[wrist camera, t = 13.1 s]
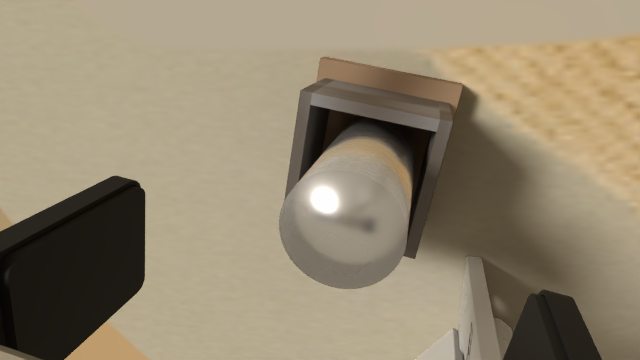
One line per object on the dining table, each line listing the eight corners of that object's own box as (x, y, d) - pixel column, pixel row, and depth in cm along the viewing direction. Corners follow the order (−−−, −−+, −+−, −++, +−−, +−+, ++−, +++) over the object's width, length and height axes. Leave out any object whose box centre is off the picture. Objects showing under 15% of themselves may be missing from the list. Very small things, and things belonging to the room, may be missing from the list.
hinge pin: (425, 121, 22) (421, 188, 13) (405, 195, 23) (389, 303, 14) (346, 103, 23) (289, 155, 13) (332, 176, 24) (271, 269, 15)
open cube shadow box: (461, 83, 22) (469, 101, 17) (422, 226, 25) (419, 278, 20) (324, 56, 23) (294, 66, 18) (302, 196, 26) (270, 238, 21)
